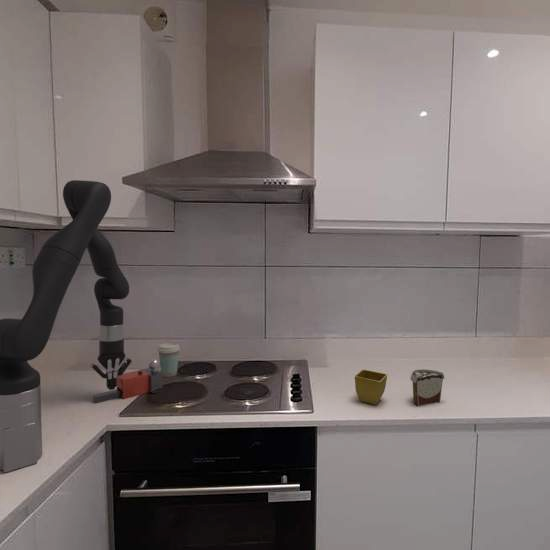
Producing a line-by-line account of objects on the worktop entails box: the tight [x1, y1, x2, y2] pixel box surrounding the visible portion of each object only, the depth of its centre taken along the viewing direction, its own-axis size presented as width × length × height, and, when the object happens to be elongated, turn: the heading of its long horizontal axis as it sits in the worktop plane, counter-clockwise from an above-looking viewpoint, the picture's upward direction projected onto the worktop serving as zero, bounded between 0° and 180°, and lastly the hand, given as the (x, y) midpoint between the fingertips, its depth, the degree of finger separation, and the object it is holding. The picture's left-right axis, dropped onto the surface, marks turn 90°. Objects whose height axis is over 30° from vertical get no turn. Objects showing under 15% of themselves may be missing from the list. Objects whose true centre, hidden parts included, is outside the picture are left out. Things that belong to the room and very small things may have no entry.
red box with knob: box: [116, 369, 150, 400], centre depth 124 cm, size 6×9×7 cm
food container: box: [410, 369, 445, 407], centre depth 121 cm, size 12×6×10 cm, turn 111°
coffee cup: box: [157, 342, 181, 378], centre depth 143 cm, size 8×8×12 cm
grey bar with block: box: [92, 358, 164, 404], centre depth 123 cm, size 10×22×11 cm, turn 130°
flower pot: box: [354, 369, 388, 405], centre depth 120 cm, size 9×9×9 cm
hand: (111, 388), depth 120 cm, fingers closed
